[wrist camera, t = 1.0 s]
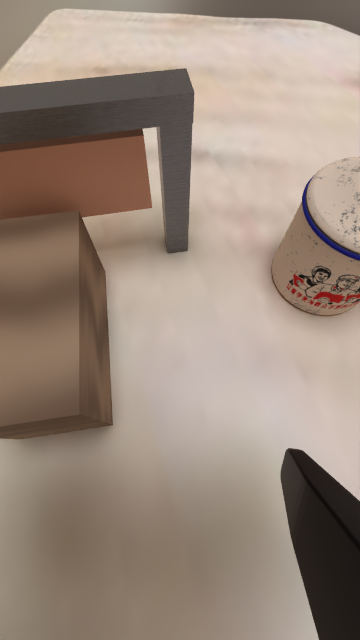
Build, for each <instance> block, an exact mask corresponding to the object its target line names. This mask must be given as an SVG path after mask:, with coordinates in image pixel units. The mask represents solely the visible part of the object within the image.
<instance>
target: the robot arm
mask: <svg viewBox="0 0 360 640" xmlns="http://www.w3.org/2000/svg"><path fill="white" fill-rule="evenodd" d="M281 483H282V489H283V495H284V501H285V506H286V512H287V518H288V524H289V529H290V534H291V539H292V543H293V547H294V550H295V554H296V558H297V561H298V565H299V569H300V572H301V576H302V579H303V583H304V587H305V590H306V594H307V597H308V601H309V605H310V608H311V612H312V615H313V619H314V623H315V626H316V630H317V634H318V637H319V640H360V501H359V500H358V499H357V498H356V497H354V496H353V495H352V494H351V493H350V492H349V491H348V490H347V489H345V488H344V487H343V486H342V485H341V484H340V483H339V482H338V481H336V480H335V479H334V478H333V477H332V476H331V475H330V474H328V473H327V472H326V471H325V470H324V469H323V468H322V467H321V466H319V465H318V464H317V463H316V462H315V461H314V460H313V459H312V458H310V457H309V456H308V455H307V454H306V453H305V452H304V451H302V450H299V449H292V448H288V449H287V450H286V452H285V456H284V460H283V464H282V468H281Z"/></svg>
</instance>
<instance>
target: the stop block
mask: <svg viewBox="0 0 360 640" xmlns="http://www.w3.org/2000/svg"><path fill="white" fill-rule="evenodd" d="M107 425H113V421H112V400H111V379H110V359H109V338H108V317H107V297H106V276H105V270H104V268H103V266H102V263H101V261H100V259H99V257H98V254H97V252H96V250H95V247H94V245H93V243H92V240H91V238H90V236H89V233H88V231H87V229H86V227H85V224H84V222H83V220H82V217H81V215H80V213H79V211H72V212H63V213H54V214H45V215H36V216H27V217H18V218H8V219H0V438H3V439H24V438H30V437H37V436H43V435H49V434H56V433H62V432H69V431H75V430H82V429H88V428H95V427H101V426H107Z"/></svg>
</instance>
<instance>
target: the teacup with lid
mask: <svg viewBox="0 0 360 640" xmlns="http://www.w3.org/2000/svg"><path fill="white" fill-rule="evenodd" d="M272 275H273V279H274V282H275V284H276V286H277V288H278V290H279V291H280V293H281V294H282V295H283V296H284V297H285V298H286V299H287V300H288V301H289V302H290V303H292V304H293V305H294V306H296V307H298V308H300V309H302V310H304V311H306V312H309V313H313V314H318V315H335V314H340V313H343V312H345V311H348V310H349V309H351V308H353V307H354V306H355V305H356V304H358V303H359V302H360V157H353V158H346V159H342V160H338V161H335V162H333V163H331V164H329V165H327V166H325V167H324V168H322V169H321V170H319V171H318V172H317V173H316V174H315V175H314V176H313V177H312V178H311V179H310V180H309V182H308V183H307V185H306V187H305V189H304V192H303V196H302V202H301V204H300V206H299V208H298V210H297V213H296V215H295V217H294V219H293V221H292V223H291V225H290V227H289V229H288V231H287V233H286V235H285V237H284V239H283V241H282V243H281V245H280V247H279V249H278V251H277V253H276V255H275V257H274V260H273V263H272Z"/></svg>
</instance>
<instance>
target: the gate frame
mask: <svg viewBox="0 0 360 640" xmlns="http://www.w3.org/2000/svg"><path fill="white" fill-rule="evenodd" d="M193 111H194V90H193V87H192V84H191V81H190V78H189V75H188V72H187V69H186V68H185V69H175V70H165V71H155V72H145V73H135V74H125V75H115V76H105V77H95V78H85V79H75V80H65V81H55V82H45V83H35V84H25V85H15V86H5V87H0V145H2V144H11V143H20V142H29V141H37V140H46V139H55V138H64V137H73V136H81V135H90V134H99V133H108V132H117V131H125V130H134V129H143V128H152V127H157V141H158V154H159V167H160V181H161V194H162V207H163V221H164V234H165V241H166V247H167V252H168V253H174V252H181V251H188V225H189V198H190V171H191V145H192V123H193Z"/></svg>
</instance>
